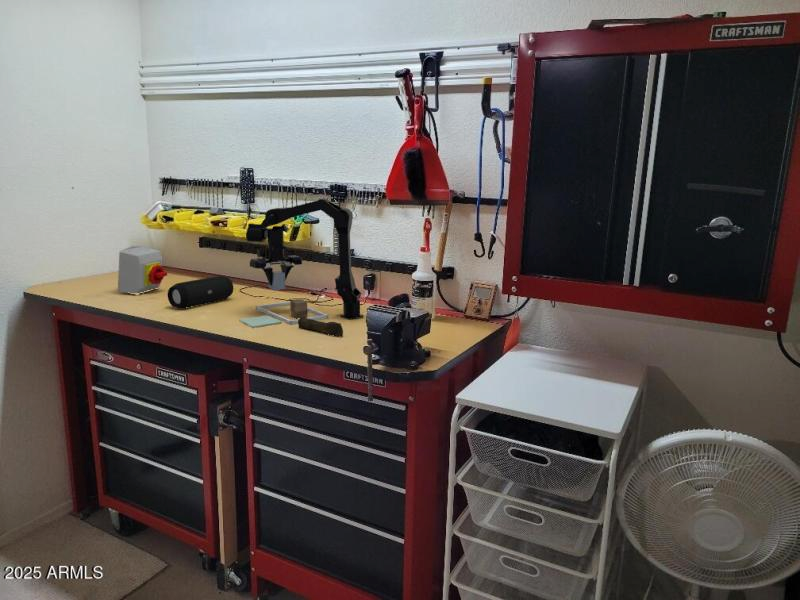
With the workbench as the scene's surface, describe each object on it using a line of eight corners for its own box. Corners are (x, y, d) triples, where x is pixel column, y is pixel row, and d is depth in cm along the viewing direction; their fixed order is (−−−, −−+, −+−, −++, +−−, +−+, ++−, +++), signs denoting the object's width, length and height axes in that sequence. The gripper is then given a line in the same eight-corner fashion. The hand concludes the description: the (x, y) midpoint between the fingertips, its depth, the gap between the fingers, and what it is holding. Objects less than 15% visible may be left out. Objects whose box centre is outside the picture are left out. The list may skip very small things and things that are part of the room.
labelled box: (285, 288, 219) (284, 272, 218) (274, 290, 217) (273, 273, 215) (279, 286, 223) (279, 270, 221) (268, 288, 220) (268, 271, 219)
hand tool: (297, 329, 202) (296, 315, 201) (305, 326, 205) (305, 313, 204) (336, 339, 191) (336, 326, 190) (345, 337, 194) (345, 323, 193)
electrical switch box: (147, 301, 245) (150, 255, 240) (117, 294, 248) (119, 247, 243) (170, 294, 259) (172, 250, 254) (140, 287, 262) (143, 243, 257)
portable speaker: (183, 311, 222) (181, 286, 219) (166, 308, 227) (165, 282, 225) (235, 299, 243) (234, 276, 240) (219, 296, 248) (218, 273, 246)
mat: (281, 323, 208) (281, 321, 208) (252, 328, 201) (252, 326, 201) (267, 316, 216) (267, 315, 216) (239, 321, 210) (238, 319, 209)
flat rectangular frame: (328, 318, 216) (328, 315, 216) (290, 324, 207) (290, 321, 206) (291, 303, 237) (291, 300, 237) (255, 309, 227) (255, 306, 227)
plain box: (307, 317, 217) (307, 301, 216) (296, 319, 214) (296, 303, 213) (301, 314, 220) (301, 299, 219) (290, 316, 218) (290, 300, 216)
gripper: (288, 239, 228) (289, 278, 231) (242, 242, 217) (244, 283, 220) (302, 242, 219) (303, 283, 223) (255, 245, 208) (257, 288, 211)
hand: (276, 284), depth 219 cm, fingers closed on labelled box, 4 cm apart
